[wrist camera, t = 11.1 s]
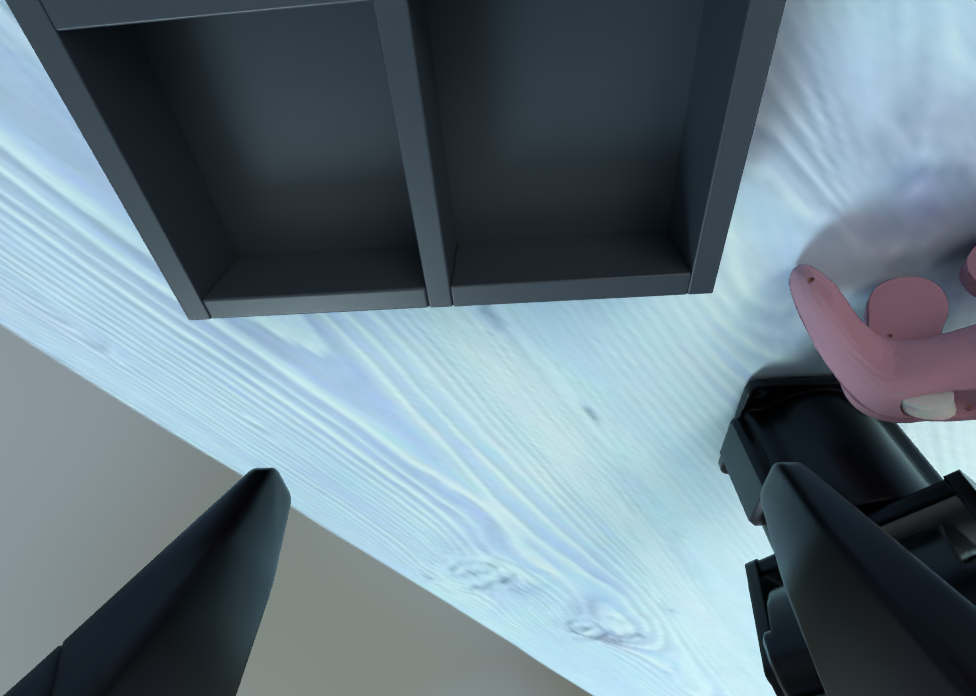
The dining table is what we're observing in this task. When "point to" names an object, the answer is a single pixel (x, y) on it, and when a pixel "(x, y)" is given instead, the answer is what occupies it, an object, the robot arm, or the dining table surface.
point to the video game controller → (893, 346)
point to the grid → (415, 143)
